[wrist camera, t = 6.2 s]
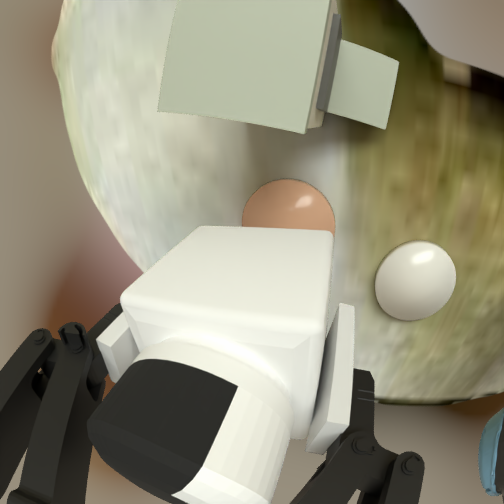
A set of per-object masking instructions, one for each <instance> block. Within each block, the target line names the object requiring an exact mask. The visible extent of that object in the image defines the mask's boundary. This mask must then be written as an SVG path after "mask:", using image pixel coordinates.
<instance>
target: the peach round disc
mask: <svg viewBox="0 0 504 504" xmlns="http://www.w3.org/2000/svg"><path fill="white" fill-rule="evenodd" d="M242 227H262V228H286V229H307V230H326V231H330V232H331V233H332V234H333V237H334V233H335V217H334V213H333V210H332V207H331V205H330V203H329V202H328V200H327V199H326V197H325V196H324V195H323V194H322V193H321V192H320V191H319V190H318V189H316V188H315V187H313V186H312V185H310V184H308V183H306V182H303V181H300V180H296V179H279V180H274V181H272V182H269V183H267V184H265V185H264V186H262V187H261V188H259V189H258V190H257V191H256V192H255V193H254V194H253V195H252V196H251V197H250V199H249V200H248V202H247V203H246V206H245V208H244V211H243V216H242Z"/></svg>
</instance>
